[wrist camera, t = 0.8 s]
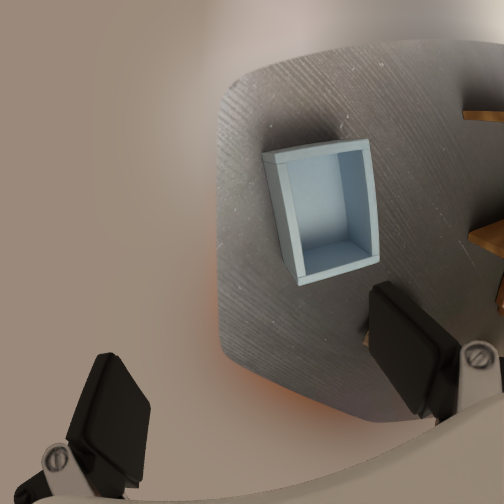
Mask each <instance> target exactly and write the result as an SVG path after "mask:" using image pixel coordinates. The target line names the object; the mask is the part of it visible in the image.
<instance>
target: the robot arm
mask: <svg viewBox="0 0 504 504" xmlns="http://www.w3.org/2000/svg"><path fill="white" fill-rule="evenodd" d="M368 347H369V351H370V353H371V355H372V356H373V358H374V359H375V361H376V362H377V363H378V365H379V366H380V368H381V369H382V370H383V372H384V373H385V375H386V376H387V377H388V379H389V380H390V382H391V383H392V385H393V386H394V387H395V389H396V390H397V392H398V393H399V395H400V396H401V397H402V399H403V400H404V402H405V403H406V405H407V406H408V408H409V409H410V411H411V412H412V413H413V414H418V415H419V417H420V418H421V419H423V418H425V417H426V416H428V415H430V414H433V415H434V417H435V418H436V422H435V427H433V428H432V429H430V430H428V431H427V432H425V433H423V434H421V435H419V436H417V437H416V438H414V439H412V440H410V441H408V442H406V443H404V444H402V445H400V446H398V447H396V448H394V449H392V450H390V451H388V452H386V453H383V454H381V455H379V456H377V457H374V458H372V459H370V460H367V461H365V462H363V463H360V464H358V465H355V466H352V467H350V468H348V469H344V470H342V471H339V472H336V473H333V474H330V475H327V476H324V477H321V478H318V479H314V480H311V481H307V482H304V483H300V484H297V485H293V486H289V487H285V488H280V489H276V490H271V491H266V492H261V493H256V494H250V495H244V496H236V497H229V498H220V499H209V500H196V501H139V500H130V499H129V498H128V497H127V495H126V494H125V492H124V490H125V487H126V488H139V482H141V481H142V479H143V469H144V459H145V449H146V441H147V433H148V425H149V418H150V411H151V407H150V403H149V401H148V400H147V398H146V397H145V395H144V394H143V393H142V391H141V390H140V388H139V387H138V385H137V384H136V382H135V381H134V379H133V378H132V376H131V375H130V373H129V372H128V370H127V369H126V367H125V365H124V364H123V362H122V361H121V359H120V358H119V356H115V354H113V353H111V352H110V353H104V354H99V355H98V356H97V357H96V359H95V362H94V364H93V366H92V369H91V371H90V374H89V376H88V378H87V381H86V383H85V386H84V388H83V391H82V394H81V396H80V399H79V401H78V404H77V407H76V410H75V412H74V415H73V418H72V421H71V423H70V427H69V429H68V432H67V435H66V440H68V441H69V443H68V446H67V445H65V444H63V443H55V444H53V445H51V446H49V447H48V448H47V449H46V451H45V452H44V454H43V456H42V461H41V463H42V468H43V470H42V471H40V472H39V473H38V474H36V475H35V476H33V477H32V478H31V479H29V480H27V481H26V482H24V483H23V484H21V485H20V486H19V487H18V488H17V489H16V491H15V495H14V503H15V504H504V357H499V355H498V352H497V350H496V349H495V347H494V346H493V345H491V344H490V343H488V342H486V341H482V340H473V341H470V342H468V343H466V344H465V345H464V346H463V347H462V346H461V345H460V344H459V342H458V341H457V340H456V339H455V338H454V337H452V336H451V335H450V334H449V333H448V332H447V331H446V330H445V329H444V328H443V327H442V326H440V325H439V324H438V323H437V322H436V321H435V320H434V319H433V318H432V317H430V316H429V315H428V314H427V313H426V312H425V311H424V310H423V309H421V308H420V307H419V306H418V305H417V304H416V303H415V302H413V301H412V300H411V299H410V298H409V297H408V296H406V295H405V294H404V293H403V292H402V291H400V290H399V289H398V288H397V287H396V286H395V285H393V284H392V283H391V282H390V281H385V282H382V283H379V284H376V285H374V286H373V288H372V290H371V291H370V292H369V342H368Z"/></svg>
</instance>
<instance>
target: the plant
mask: <svg viewBox="0 0 504 504" xmlns="http://www.w3.org/2000/svg"><path fill="white" fill-rule="evenodd" d="M496 303H497V304H498V305H499V310H498V313H499V314H500V315H502V316H503V317H504V276H503V279H502V282H501V285H500V288H499V291H498V296H497V299H496Z"/></svg>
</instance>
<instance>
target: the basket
mask: <svg viewBox="0 0 504 504" xmlns="http://www.w3.org/2000/svg"><path fill="white" fill-rule="evenodd" d="M369 148H370V147H369V140H368V139H339V140H332V141H325V142H319V143H313V144H306V145H301V146H295V147H289V148H284V149H279V150H274V151H269V152H264V153H261V154H262V159H263V164H264V168H265V173H266V178H267V182H268V187H269V192H270V197H271V201H272V206H273V211H274V216H275V221H276V226H277V231H278V236H279V242H280V247H281V252H282V257H283V262H284V263H285V265H286V266H287V268H288V270H289V271H290V273H291V274H292V276H293V278H294V279H295V281H296V282H297V284H298V286H301V285H304V284H308V283H311V282H315V281H318V280H322V279H325V278H328V277H332V276H335V275H338V274H342V273H345V272H348V271H352V270H355V269H358V268H361V267H365V266H368V265H371V264H374V263H377V262H379V261H380V260H379V232H378V217H377V204H376V194H375V184H374V175H373V168H372V160H371V153H370V149H369Z"/></svg>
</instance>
